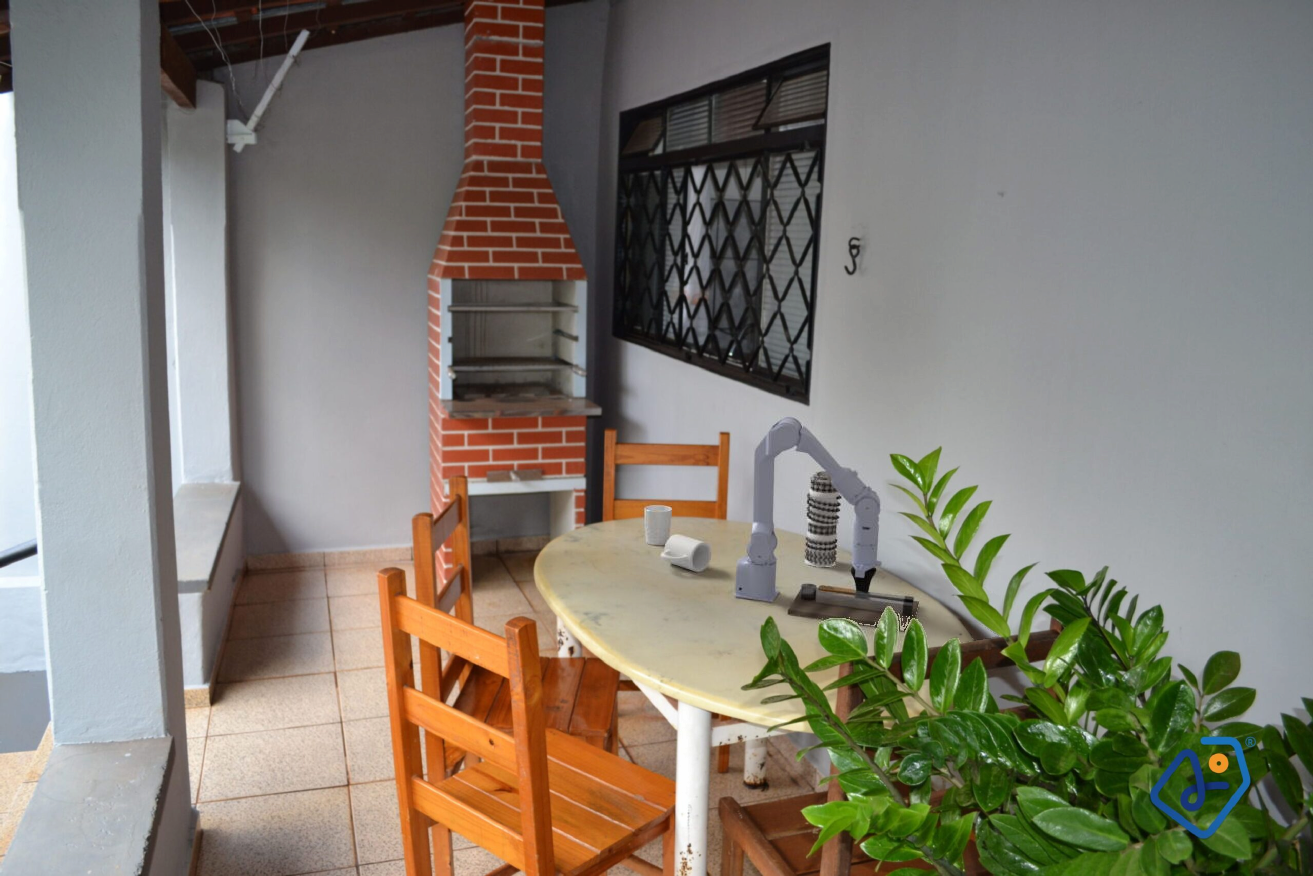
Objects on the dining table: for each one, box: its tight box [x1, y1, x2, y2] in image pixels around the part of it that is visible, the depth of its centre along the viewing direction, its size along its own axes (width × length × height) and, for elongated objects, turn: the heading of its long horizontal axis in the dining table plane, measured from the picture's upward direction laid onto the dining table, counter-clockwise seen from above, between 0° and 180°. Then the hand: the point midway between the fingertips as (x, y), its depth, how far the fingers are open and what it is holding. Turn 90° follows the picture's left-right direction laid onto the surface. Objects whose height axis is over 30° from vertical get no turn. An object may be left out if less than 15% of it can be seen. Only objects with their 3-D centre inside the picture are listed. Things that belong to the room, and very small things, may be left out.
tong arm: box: [800, 583, 915, 611], centre depth 230 cm, size 26×4×3 cm, turn 72°
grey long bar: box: [816, 590, 913, 616], centre depth 228 cm, size 22×2×2 cm, turn 71°
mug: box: [660, 533, 712, 573], centre depth 257 cm, size 12×10×8 cm
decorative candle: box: [804, 470, 843, 567], centre depth 263 cm, size 9×9×25 cm
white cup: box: [644, 504, 673, 546], centre depth 279 cm, size 8×8×10 cm
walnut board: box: [787, 587, 920, 632], centre depth 230 cm, size 28×18×1 cm, turn 71°
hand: (861, 597), depth 232 cm, fingers closed
